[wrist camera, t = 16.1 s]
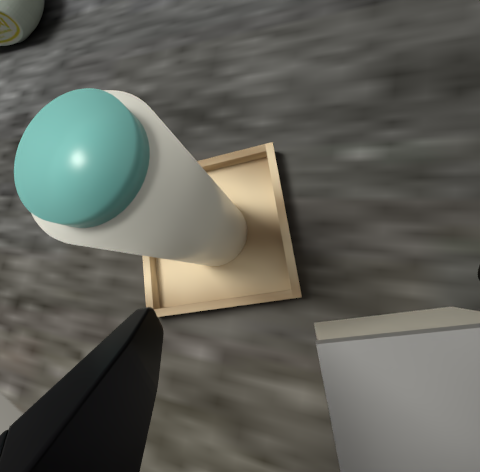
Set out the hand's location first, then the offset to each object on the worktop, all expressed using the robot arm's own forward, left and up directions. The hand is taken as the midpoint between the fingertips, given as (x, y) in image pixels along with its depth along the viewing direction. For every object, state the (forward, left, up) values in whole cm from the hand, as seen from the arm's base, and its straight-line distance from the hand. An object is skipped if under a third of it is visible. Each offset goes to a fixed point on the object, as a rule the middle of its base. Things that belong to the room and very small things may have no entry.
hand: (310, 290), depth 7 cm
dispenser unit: (-6, -5, -13) cm, 15 cm away
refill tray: (+5, +6, -13) cm, 15 cm away
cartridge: (+5, +6, -13) cm, 15 cm away
